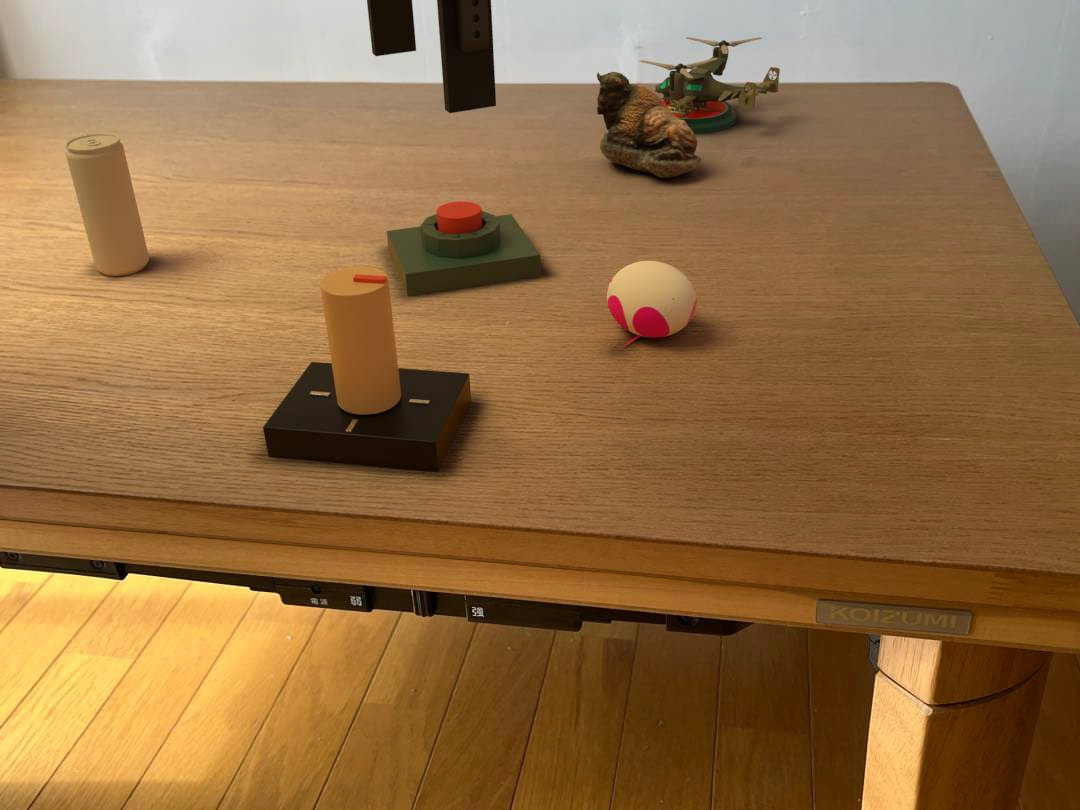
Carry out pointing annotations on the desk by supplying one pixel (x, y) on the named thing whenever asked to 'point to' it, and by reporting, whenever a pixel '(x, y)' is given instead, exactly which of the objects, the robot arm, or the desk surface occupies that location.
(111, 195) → the beverage can
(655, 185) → the desk surface
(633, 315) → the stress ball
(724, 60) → the toy helicopter
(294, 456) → the panel
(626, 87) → the bison figurine
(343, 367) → the knob
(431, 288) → the button box
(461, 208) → the button
